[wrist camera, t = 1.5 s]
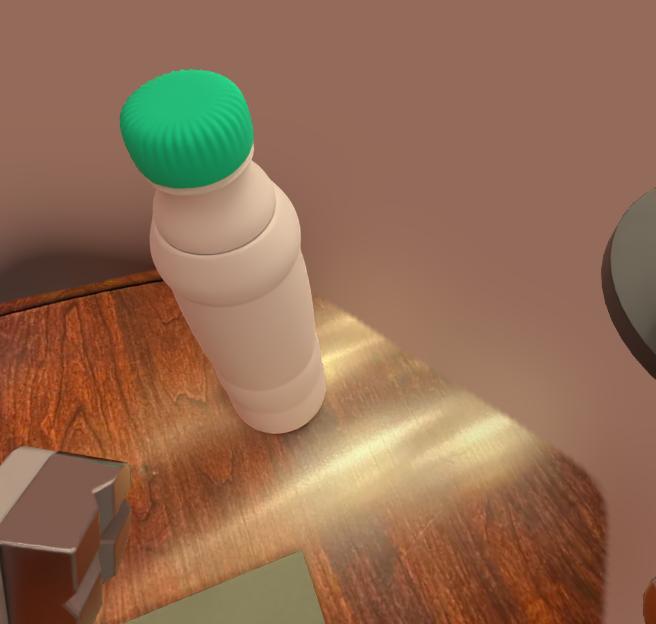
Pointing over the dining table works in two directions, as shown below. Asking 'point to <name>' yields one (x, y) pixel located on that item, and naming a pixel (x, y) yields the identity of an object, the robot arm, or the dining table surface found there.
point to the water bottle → (228, 246)
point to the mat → (249, 599)
